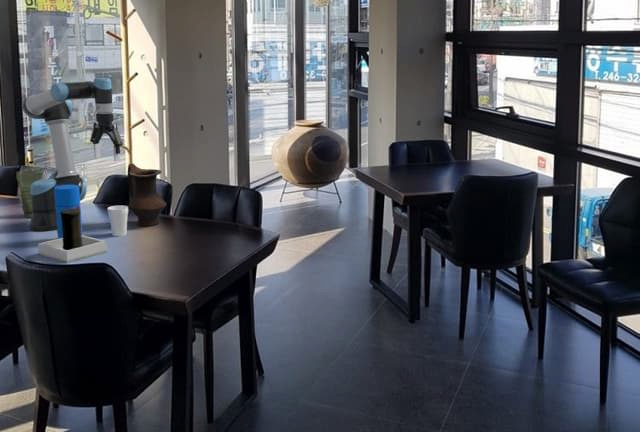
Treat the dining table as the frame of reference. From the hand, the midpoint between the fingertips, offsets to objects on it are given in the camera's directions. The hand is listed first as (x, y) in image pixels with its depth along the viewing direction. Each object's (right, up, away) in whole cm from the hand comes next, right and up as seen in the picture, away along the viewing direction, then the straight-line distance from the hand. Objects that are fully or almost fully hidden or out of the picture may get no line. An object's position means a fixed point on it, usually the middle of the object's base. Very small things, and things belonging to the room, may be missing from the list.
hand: (107, 159), depth 339 cm
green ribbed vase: (-52, -26, +49) cm, 77 cm away
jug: (+10, -30, +34) cm, 46 cm away
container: (-9, -41, -19) cm, 46 cm away
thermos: (-18, -37, +3) cm, 41 cm away
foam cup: (+2, -35, +13) cm, 37 cm away
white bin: (-9, -42, -19) cm, 47 cm away
